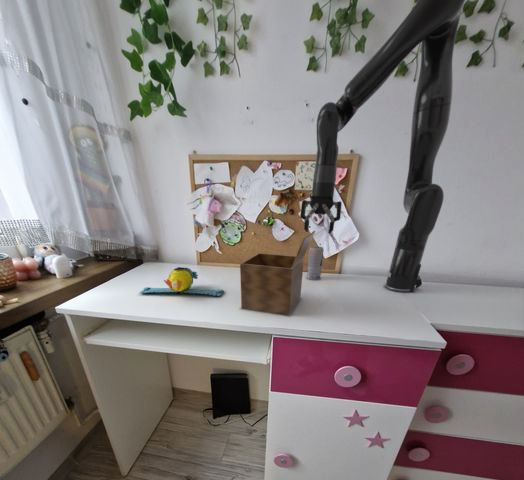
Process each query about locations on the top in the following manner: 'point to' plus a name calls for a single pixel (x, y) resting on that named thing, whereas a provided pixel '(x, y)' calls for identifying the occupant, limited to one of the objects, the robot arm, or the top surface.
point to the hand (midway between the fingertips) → (318, 232)
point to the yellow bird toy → (182, 283)
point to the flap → (303, 247)
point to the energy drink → (315, 262)
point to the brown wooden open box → (271, 283)
